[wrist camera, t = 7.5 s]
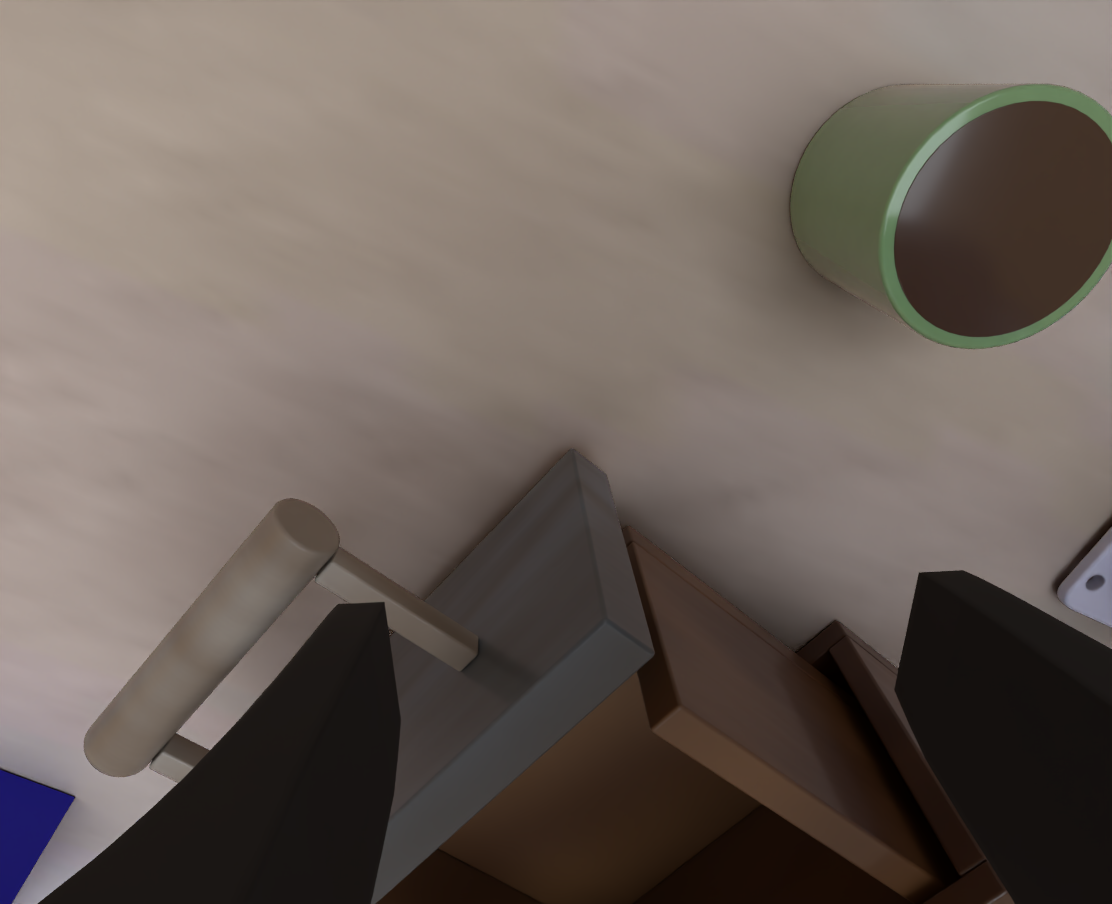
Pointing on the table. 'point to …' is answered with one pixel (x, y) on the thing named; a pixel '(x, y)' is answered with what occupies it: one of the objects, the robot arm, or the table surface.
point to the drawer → (569, 722)
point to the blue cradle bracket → (25, 828)
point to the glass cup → (961, 206)
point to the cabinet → (906, 758)
